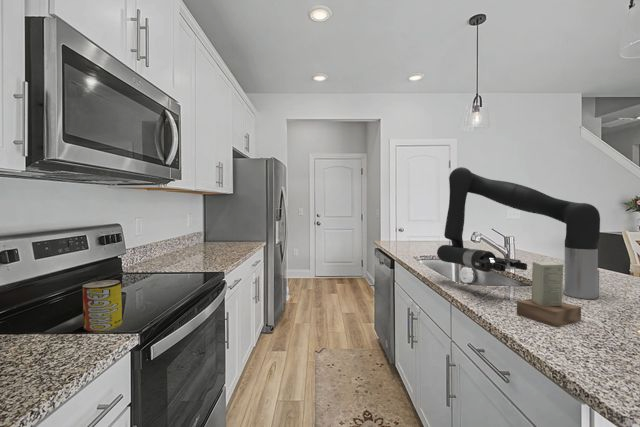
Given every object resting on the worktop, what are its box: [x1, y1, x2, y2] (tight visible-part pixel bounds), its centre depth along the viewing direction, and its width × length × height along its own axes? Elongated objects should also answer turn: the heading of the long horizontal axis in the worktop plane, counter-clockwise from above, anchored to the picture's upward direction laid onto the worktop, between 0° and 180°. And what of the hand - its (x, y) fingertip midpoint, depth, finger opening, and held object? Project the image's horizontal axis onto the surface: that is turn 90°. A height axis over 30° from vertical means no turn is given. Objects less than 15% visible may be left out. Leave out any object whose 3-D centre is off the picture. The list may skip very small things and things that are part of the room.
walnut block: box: [516, 298, 582, 328], centre depth 93 cm, size 11×11×4 cm
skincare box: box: [531, 260, 564, 306], centre depth 93 cm, size 6×4×12 cm
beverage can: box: [82, 279, 123, 333], centre depth 91 cm, size 9×9×12 cm
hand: (515, 267), depth 104 cm, fingers open, 8 cm apart
